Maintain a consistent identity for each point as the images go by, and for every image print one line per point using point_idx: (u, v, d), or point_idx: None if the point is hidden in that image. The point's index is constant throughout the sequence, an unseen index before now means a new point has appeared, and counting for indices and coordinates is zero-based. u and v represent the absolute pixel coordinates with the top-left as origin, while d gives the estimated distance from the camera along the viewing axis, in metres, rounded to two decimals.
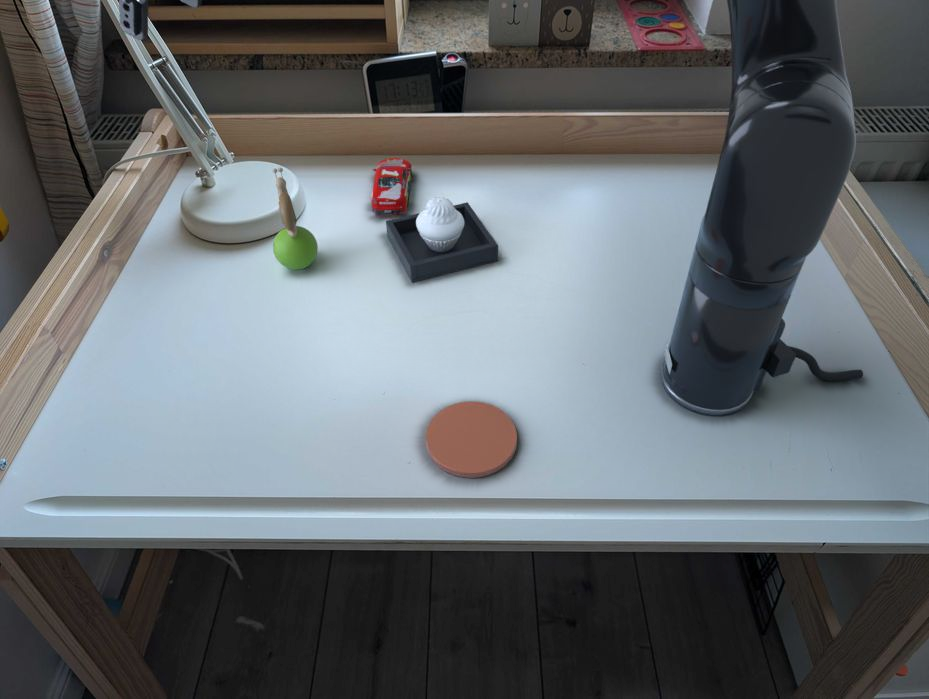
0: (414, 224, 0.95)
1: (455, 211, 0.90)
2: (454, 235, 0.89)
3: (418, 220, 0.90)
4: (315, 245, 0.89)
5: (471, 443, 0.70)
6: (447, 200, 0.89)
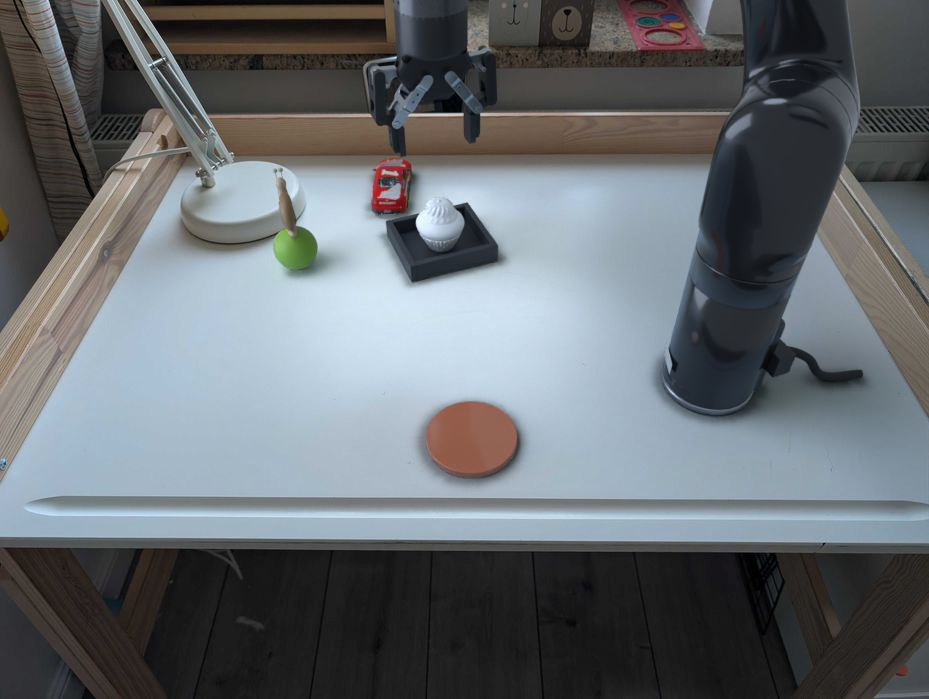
0: (414, 224, 0.95)
1: (455, 211, 0.90)
2: (454, 235, 0.89)
3: (418, 220, 0.90)
4: (315, 245, 0.89)
5: (471, 443, 0.70)
6: (447, 200, 0.89)
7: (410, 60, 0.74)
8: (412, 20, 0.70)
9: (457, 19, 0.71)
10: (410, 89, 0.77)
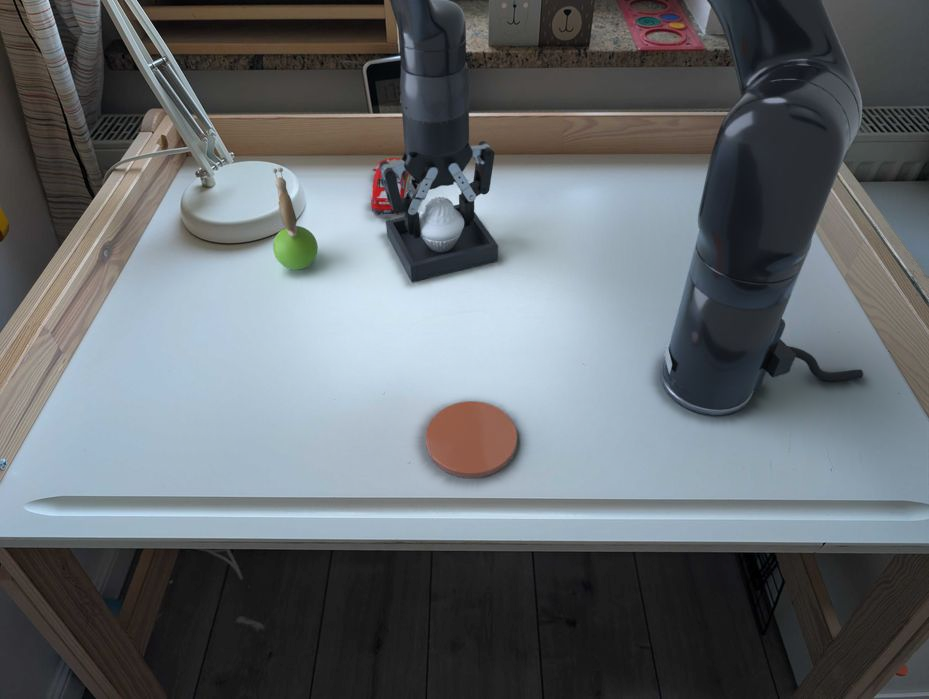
0: None
1: (455, 211, 0.90)
2: (454, 235, 0.89)
3: None
4: (315, 245, 0.89)
5: (471, 443, 0.70)
6: (447, 200, 0.89)
7: (417, 155, 0.82)
8: (419, 123, 0.78)
9: (459, 121, 0.79)
10: (417, 179, 0.84)
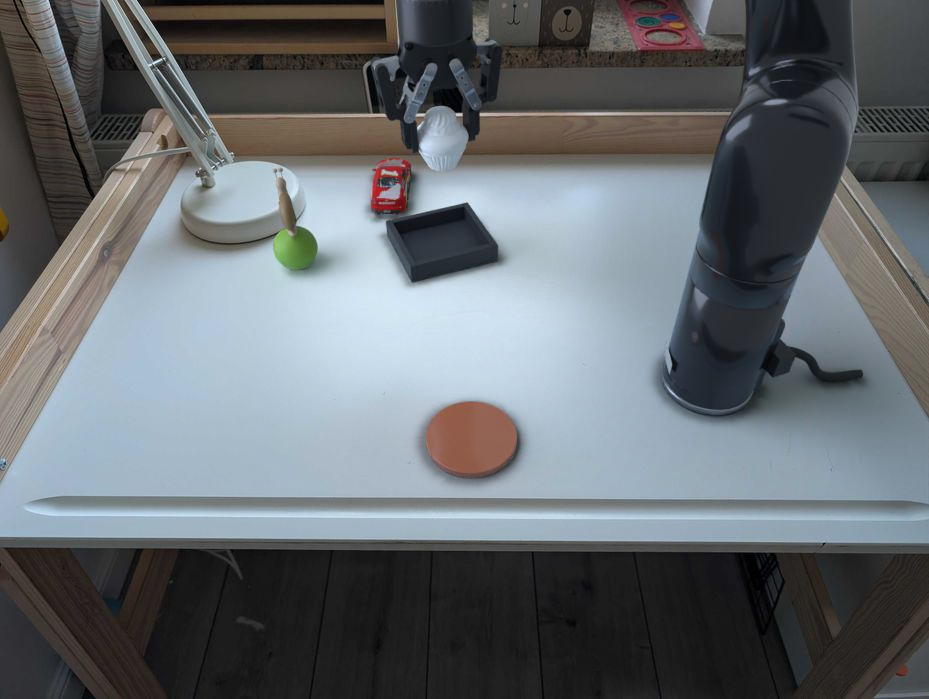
0: (414, 224, 0.95)
1: (458, 122, 0.79)
2: (457, 149, 0.79)
3: None
4: (315, 245, 0.89)
5: (471, 443, 0.70)
6: (449, 109, 0.78)
7: (413, 48, 0.71)
8: (414, 4, 0.67)
9: (461, 3, 0.68)
10: (413, 78, 0.74)
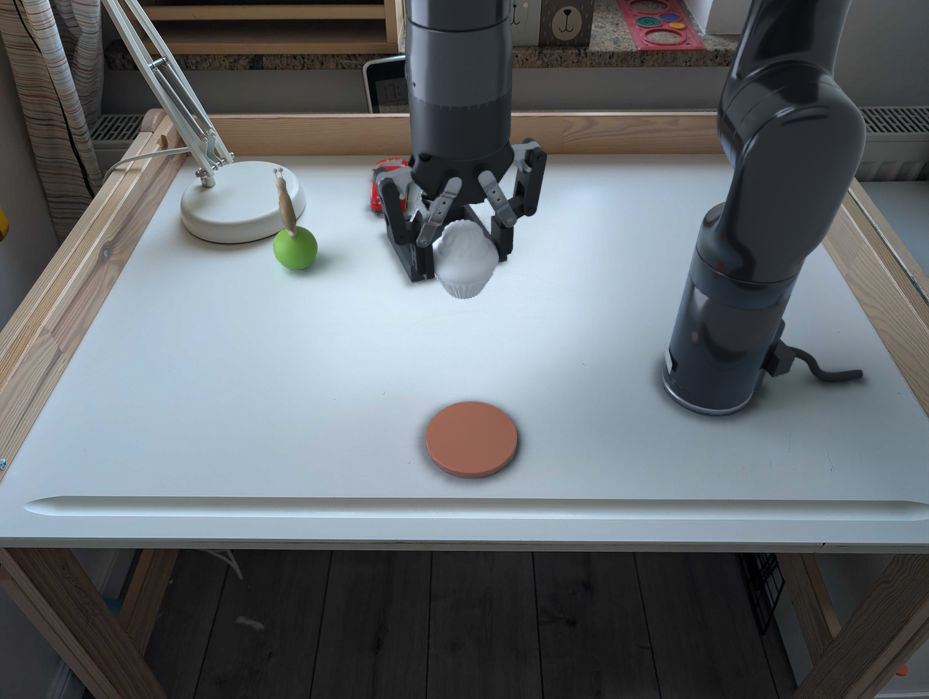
0: None
1: (486, 241, 0.61)
2: (484, 276, 0.61)
3: None
4: (315, 245, 0.89)
5: (471, 443, 0.70)
6: (474, 225, 0.60)
7: (430, 159, 0.53)
8: (434, 109, 0.49)
9: (498, 106, 0.50)
10: (430, 194, 0.56)
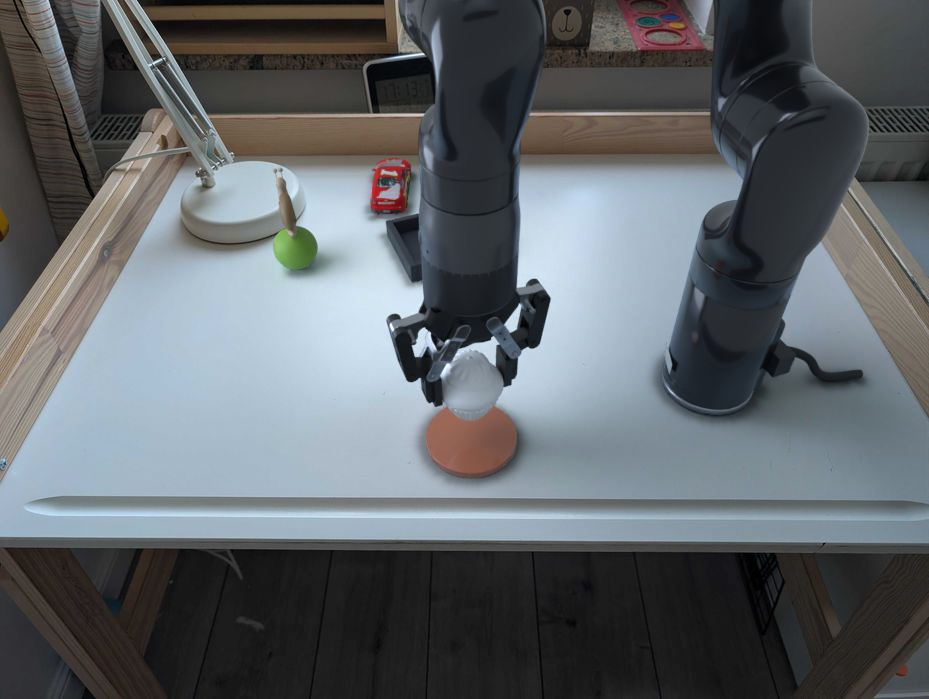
0: (414, 224, 0.95)
1: (491, 370, 0.64)
2: (490, 404, 0.64)
3: None
4: (315, 245, 0.89)
5: (471, 443, 0.70)
6: (480, 356, 0.63)
7: (441, 310, 0.56)
8: (446, 275, 0.52)
9: (506, 270, 0.53)
10: (440, 338, 0.59)
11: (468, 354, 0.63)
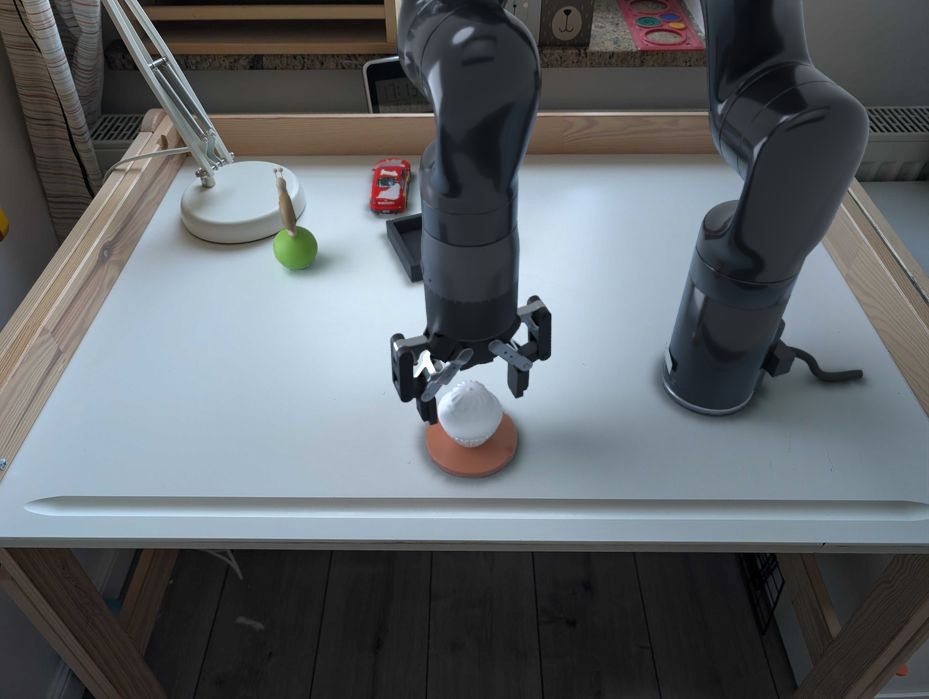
0: (414, 224, 0.95)
1: (491, 400, 0.67)
2: (489, 433, 0.67)
3: (441, 411, 0.67)
4: (315, 245, 0.89)
5: None
6: (480, 387, 0.66)
7: (444, 334, 0.58)
8: (449, 303, 0.54)
9: (507, 297, 0.55)
10: (444, 361, 0.60)
11: (468, 385, 0.66)
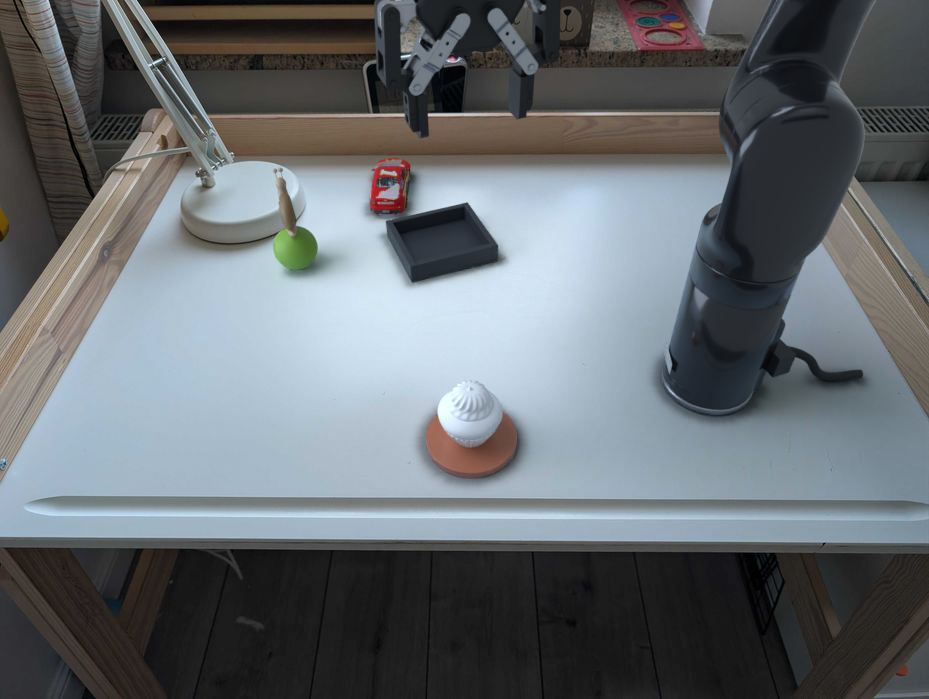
0: (414, 224, 0.95)
1: (491, 400, 0.67)
2: (489, 433, 0.67)
3: (441, 411, 0.67)
4: (315, 245, 0.89)
5: None
6: (480, 387, 0.66)
7: None
8: None
9: None
10: (436, 36, 0.52)
11: (468, 385, 0.66)
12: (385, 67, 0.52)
